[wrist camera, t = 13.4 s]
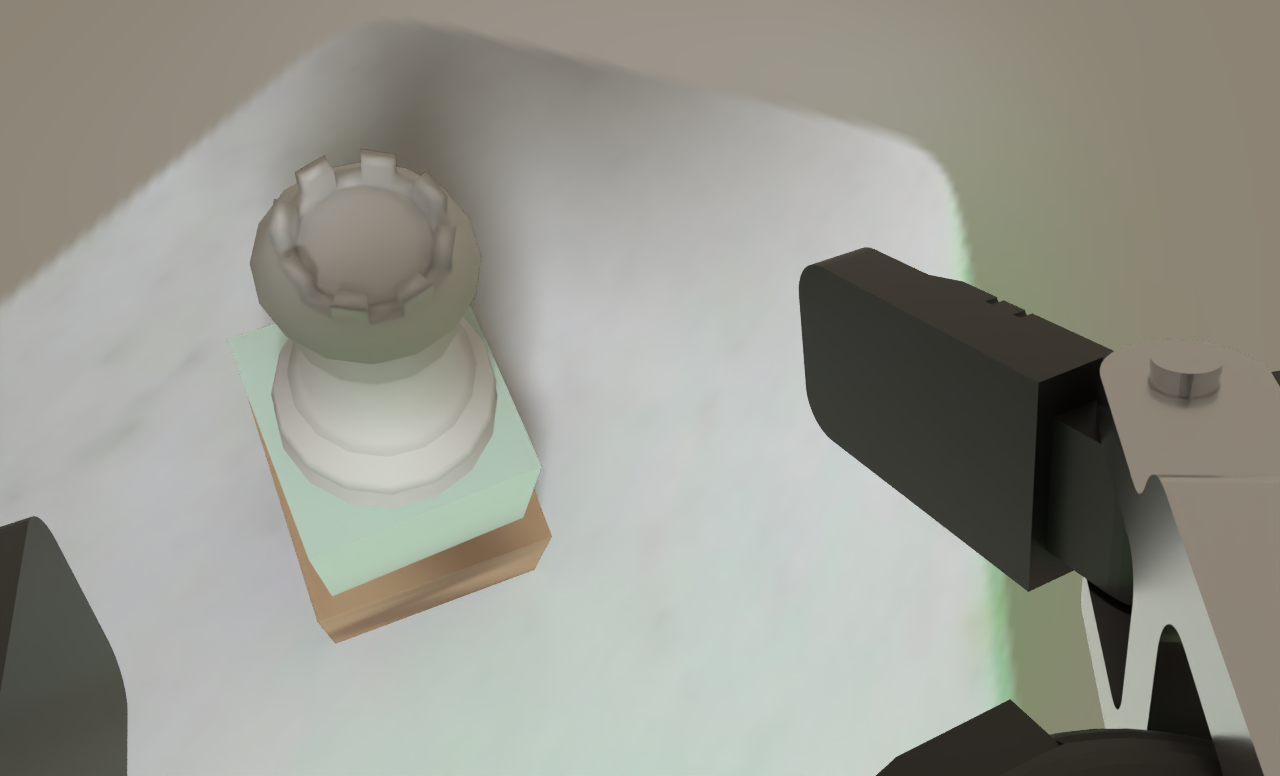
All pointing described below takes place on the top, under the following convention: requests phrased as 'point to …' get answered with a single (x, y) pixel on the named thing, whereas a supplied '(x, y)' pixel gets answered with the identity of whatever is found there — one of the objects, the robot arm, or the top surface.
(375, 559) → the sage top block
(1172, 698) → the robot arm
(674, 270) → the top surface
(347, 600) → the walnut base block
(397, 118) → the top surface
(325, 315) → the rook chess piece
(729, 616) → the top surface
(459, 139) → the top surface
